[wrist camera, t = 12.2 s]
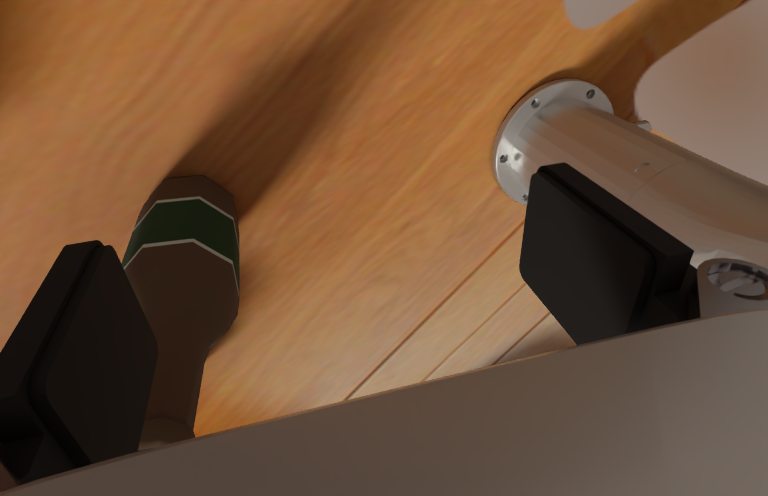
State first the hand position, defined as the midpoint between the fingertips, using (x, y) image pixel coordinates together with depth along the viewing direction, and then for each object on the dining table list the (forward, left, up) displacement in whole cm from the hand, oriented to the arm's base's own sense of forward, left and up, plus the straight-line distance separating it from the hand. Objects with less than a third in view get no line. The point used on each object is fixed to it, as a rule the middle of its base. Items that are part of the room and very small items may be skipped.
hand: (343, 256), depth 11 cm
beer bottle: (+9, +13, -30) cm, 34 cm away
